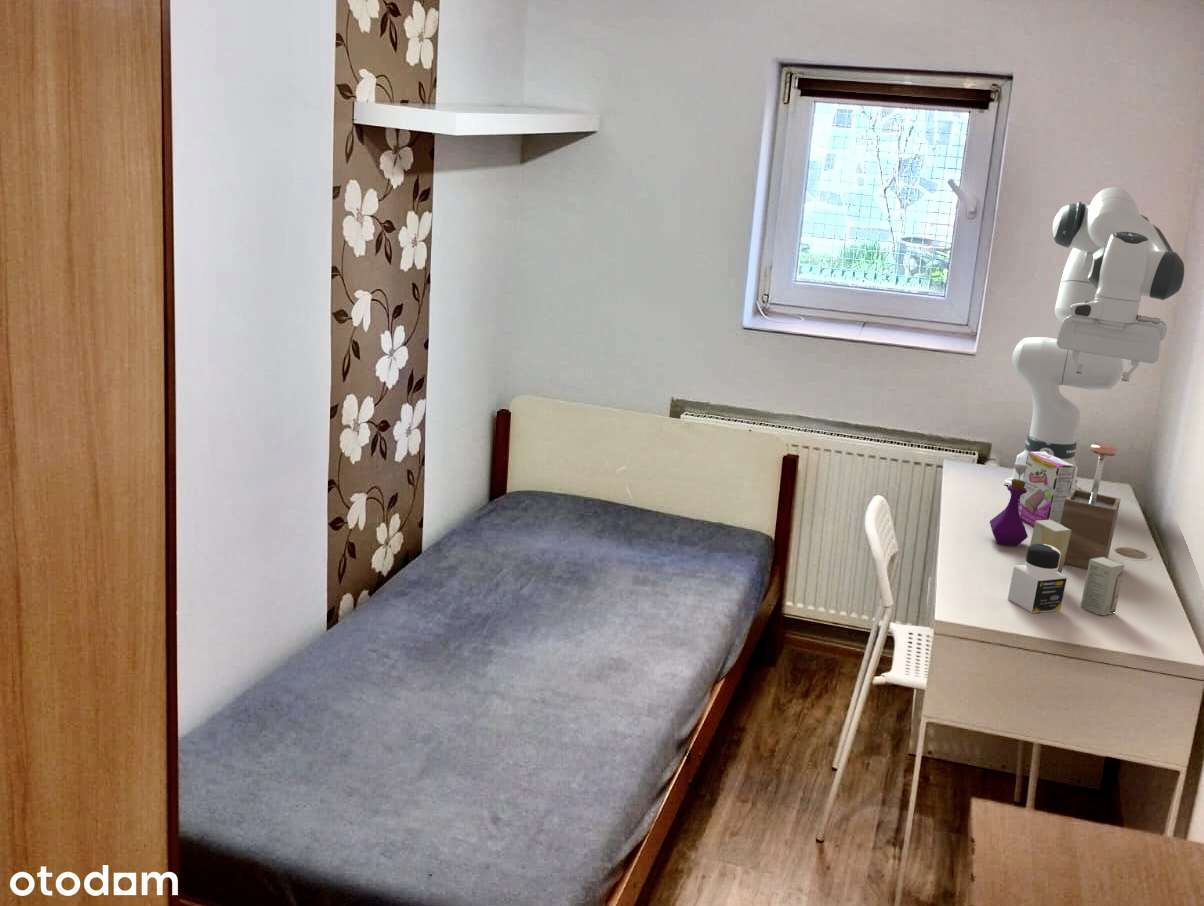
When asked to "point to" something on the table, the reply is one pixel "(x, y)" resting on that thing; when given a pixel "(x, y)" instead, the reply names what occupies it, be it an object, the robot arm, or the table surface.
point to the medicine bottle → (1038, 580)
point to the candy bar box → (1045, 487)
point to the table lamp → (1098, 473)
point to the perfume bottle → (1011, 515)
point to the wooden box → (1088, 528)
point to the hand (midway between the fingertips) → (1101, 376)
